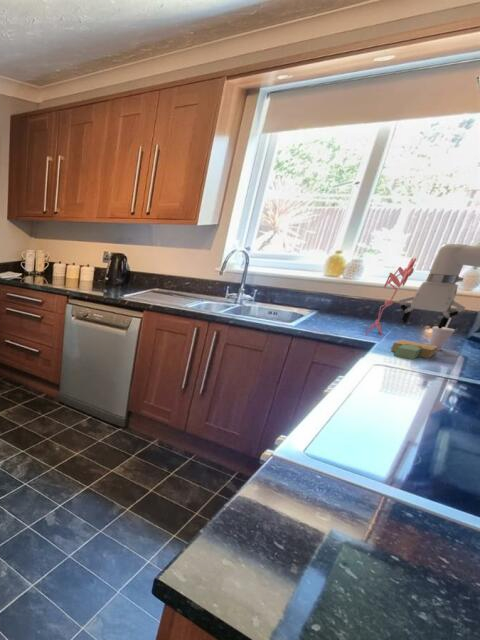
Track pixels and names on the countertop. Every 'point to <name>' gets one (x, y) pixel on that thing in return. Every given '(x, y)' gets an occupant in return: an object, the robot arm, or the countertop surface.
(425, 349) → the sand pad
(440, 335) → the smoothie
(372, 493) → the countertop surface
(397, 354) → the green pad
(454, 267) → the robot arm
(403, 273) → the figurine
